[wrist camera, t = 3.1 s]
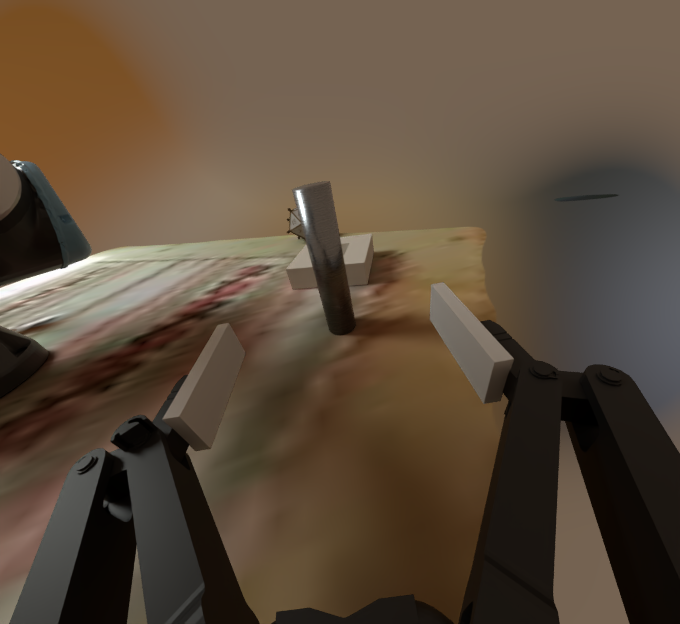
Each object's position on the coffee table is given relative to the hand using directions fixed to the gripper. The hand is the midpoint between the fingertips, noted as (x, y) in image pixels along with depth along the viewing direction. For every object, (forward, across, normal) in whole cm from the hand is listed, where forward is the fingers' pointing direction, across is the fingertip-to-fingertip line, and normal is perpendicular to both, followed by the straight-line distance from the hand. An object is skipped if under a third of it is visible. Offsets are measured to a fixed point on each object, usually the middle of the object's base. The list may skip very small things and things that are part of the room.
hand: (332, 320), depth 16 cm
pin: (+10, 0, -8) cm, 13 cm away
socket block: (+26, 0, -8) cm, 27 cm away
